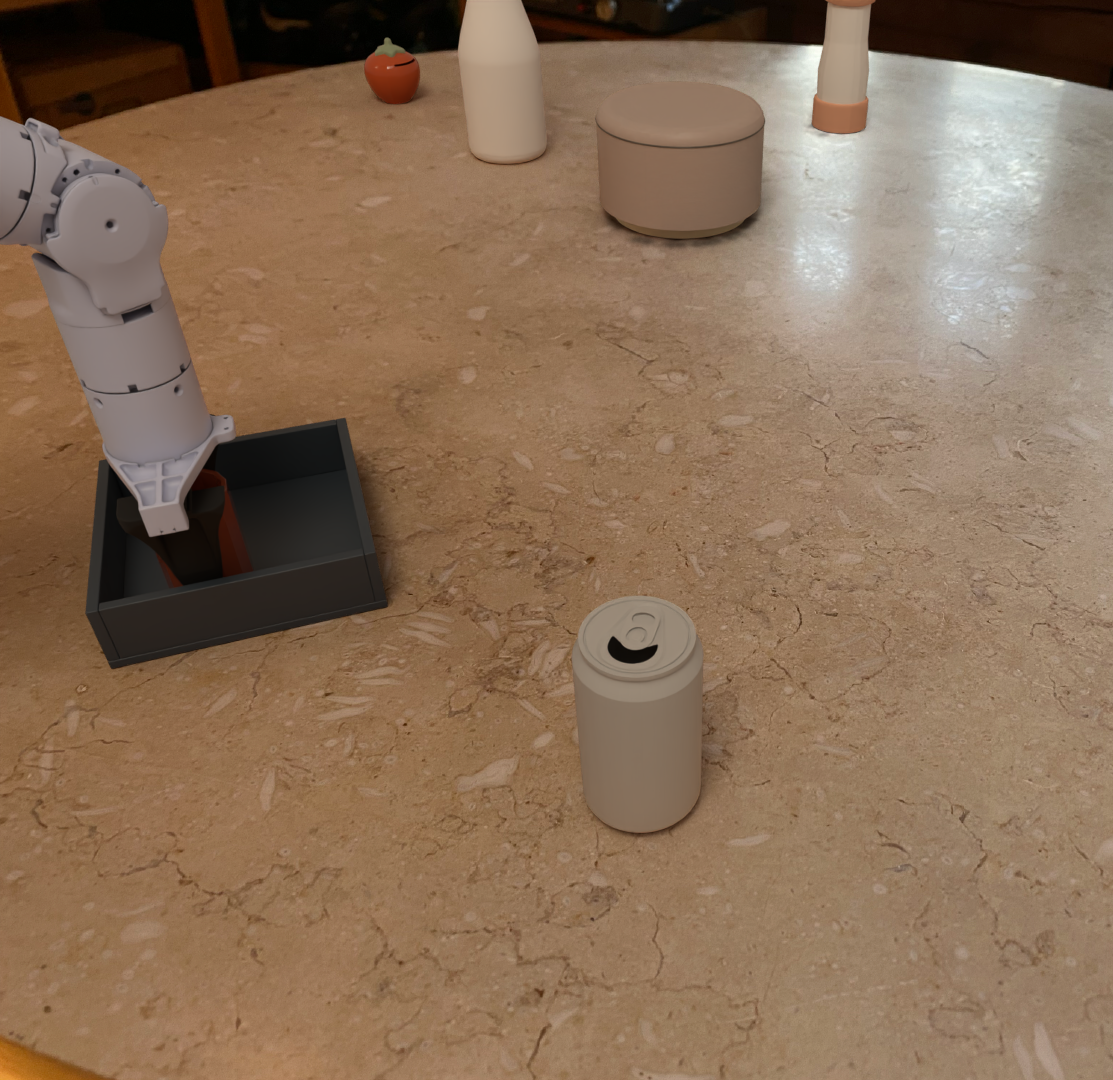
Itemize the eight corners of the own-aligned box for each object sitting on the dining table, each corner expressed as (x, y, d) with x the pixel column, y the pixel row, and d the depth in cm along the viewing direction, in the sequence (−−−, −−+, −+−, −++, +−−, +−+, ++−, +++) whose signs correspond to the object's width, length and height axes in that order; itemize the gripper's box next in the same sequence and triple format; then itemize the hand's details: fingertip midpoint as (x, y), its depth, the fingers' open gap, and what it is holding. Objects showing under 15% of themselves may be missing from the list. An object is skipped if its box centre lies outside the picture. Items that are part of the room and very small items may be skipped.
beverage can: (567, 827, 57) (549, 667, 50) (605, 736, 62) (595, 578, 55) (683, 853, 56) (684, 694, 49) (713, 759, 61) (718, 601, 54)
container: (789, 228, 119) (796, 119, 111) (636, 255, 112) (633, 141, 105) (718, 172, 131) (720, 70, 124) (577, 194, 125) (570, 88, 118)
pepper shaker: (801, 125, 145) (811, -34, 133) (830, 112, 150) (843, -43, 138) (847, 137, 142) (862, -25, 130) (876, 123, 146) (893, -35, 134)
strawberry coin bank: (397, 111, 146) (387, 48, 141) (357, 101, 149) (346, 39, 144) (435, 97, 151) (427, 35, 146) (396, 88, 154) (386, 27, 149)
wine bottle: (527, 170, 130) (501, -120, 112) (456, 160, 133) (418, -126, 114) (560, 145, 138) (540, -132, 119) (492, 135, 140) (462, -138, 121)
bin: (110, 669, 66) (84, 613, 63) (120, 513, 77) (98, 460, 75) (388, 606, 70) (375, 552, 68) (357, 468, 82) (345, 417, 79)
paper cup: (171, 614, 67) (135, 525, 63) (171, 564, 71) (137, 477, 67) (256, 595, 69) (227, 507, 65) (252, 547, 73) (224, 461, 68)
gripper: (216, 422, 56) (278, 615, 65) (209, 300, 67) (263, 480, 75) (65, 447, 54) (149, 643, 63) (82, 317, 64) (152, 501, 73)
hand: (203, 556), depth 69 cm, fingers closed on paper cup, 5 cm apart
